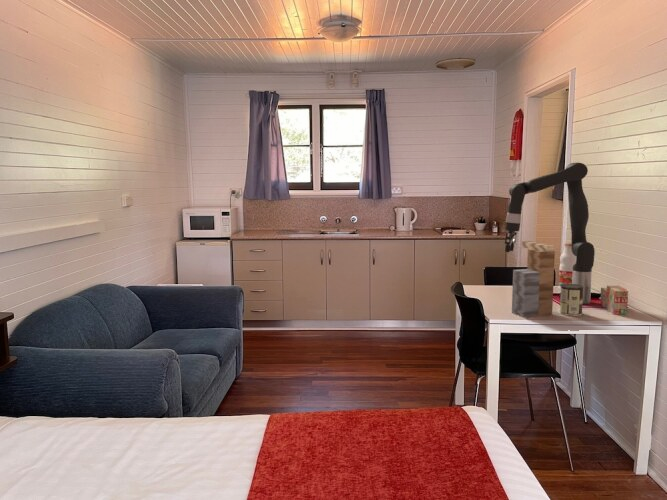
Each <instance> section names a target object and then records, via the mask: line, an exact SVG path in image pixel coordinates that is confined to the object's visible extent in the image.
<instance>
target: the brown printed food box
mask: <svg viewBox="0 0 667 500" xmlns="http://www.w3.org/2000/svg"><path fill="white" fill-rule="evenodd" d="M628 300H629V290H627V289H626V288H625V287H622V286H620V285H606V287H601V288H600V305H601V306H602V307H603V308H604V309H606V310H608V312H609V313H611V314H612V315H615V316H616V315H619V316H627V313H628V302H629V301H628Z"/></svg>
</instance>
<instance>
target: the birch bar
mask: <svg viewBox="0 0 667 500" xmlns="http://www.w3.org/2000/svg"><path fill="white" fill-rule="evenodd" d="M521 248H523V249H527V250H528V249H533V250H538V251H543V252H554V251H555V245H552V244H547V243H543V242H542V243H541V242H535V241H532V240H531V241H530V240H525V241H524V240H523V241H521Z"/></svg>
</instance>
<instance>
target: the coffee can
mask: <svg viewBox="0 0 667 500" xmlns="http://www.w3.org/2000/svg"><path fill="white" fill-rule="evenodd" d="M582 302H583V286H582V285H577V284H562V285H561V290H560V304H559V305H560V307H559V314H561V315H564V316H569V317H570V316H571V317H579V316H583V304H582Z"/></svg>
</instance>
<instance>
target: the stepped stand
mask: <svg viewBox="0 0 667 500" xmlns="http://www.w3.org/2000/svg"><path fill="white" fill-rule="evenodd" d="M555 254H556V251H555V250H554V252H543V251H538V250H533V249H528V248H527V261H526V265H527V266H526V268H522V269H512V292H511V293H512V294H511V295H512V296H511V297H512V298H511V314H513V315H516V316H518V315H519V316H518V317H521V318H523V317H527V318H535V317H537V318H538V317H546V316H547V317H548V316H552V315H553V303H554V284H555V283H554V281H555V279H554V278H555V260H556V259H555Z"/></svg>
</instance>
